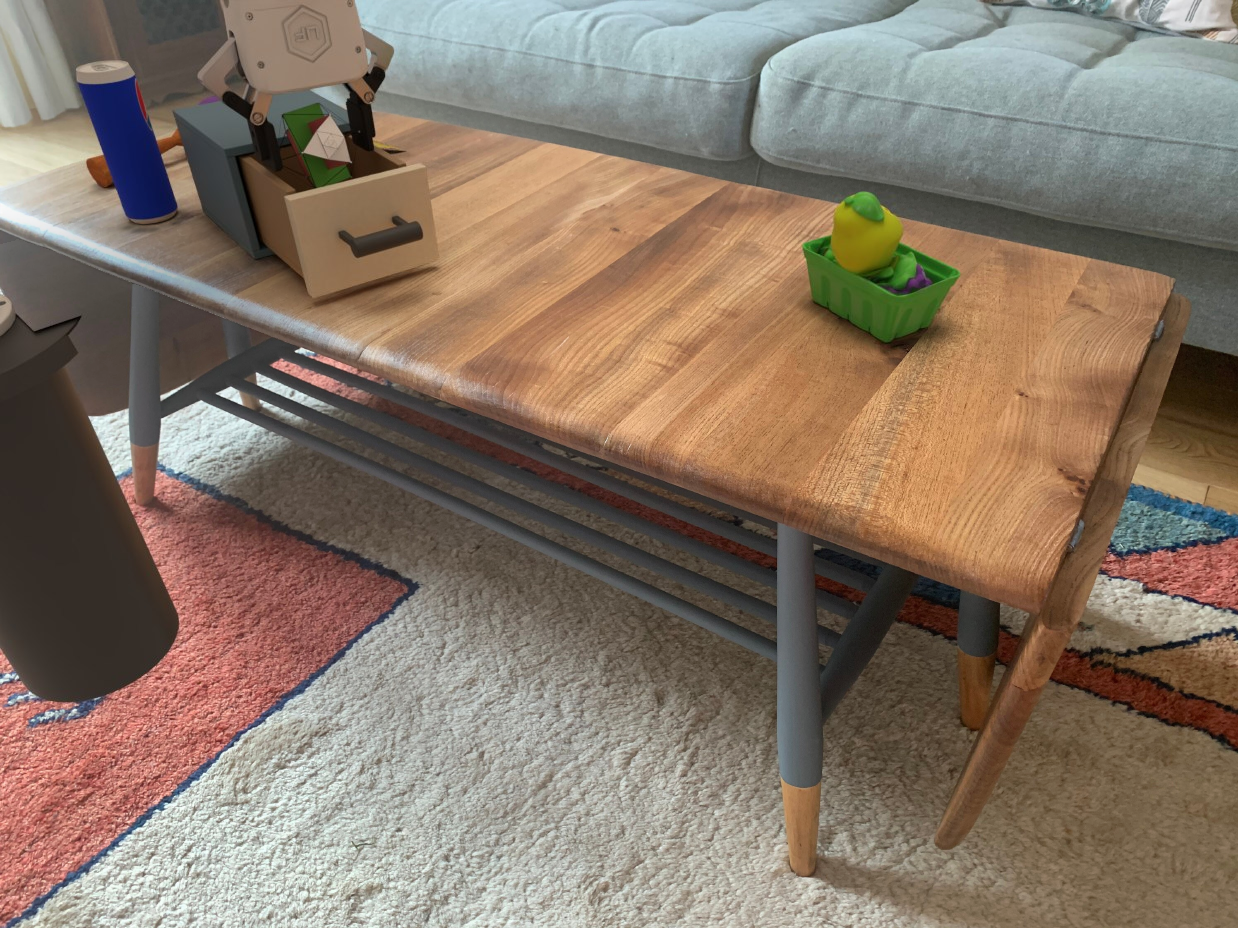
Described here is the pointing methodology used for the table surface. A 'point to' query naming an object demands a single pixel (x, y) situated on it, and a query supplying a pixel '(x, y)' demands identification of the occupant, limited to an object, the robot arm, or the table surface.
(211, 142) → the cabinet
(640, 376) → the table surface
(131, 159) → the beverage can
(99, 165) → the kendama
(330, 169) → the geometric puzzle
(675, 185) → the table surface
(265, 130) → the robot arm
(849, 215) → the fruit basket
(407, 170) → the drawer
